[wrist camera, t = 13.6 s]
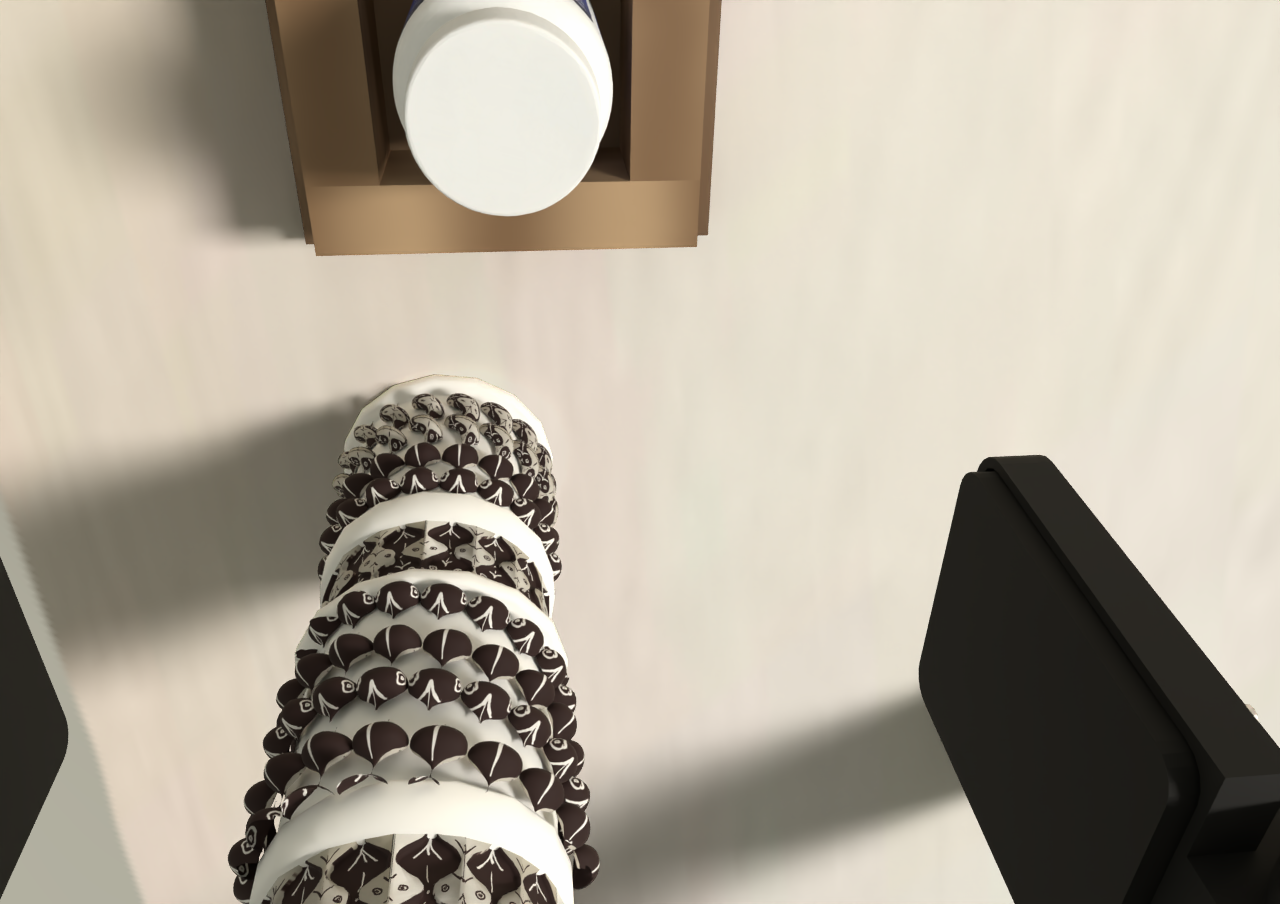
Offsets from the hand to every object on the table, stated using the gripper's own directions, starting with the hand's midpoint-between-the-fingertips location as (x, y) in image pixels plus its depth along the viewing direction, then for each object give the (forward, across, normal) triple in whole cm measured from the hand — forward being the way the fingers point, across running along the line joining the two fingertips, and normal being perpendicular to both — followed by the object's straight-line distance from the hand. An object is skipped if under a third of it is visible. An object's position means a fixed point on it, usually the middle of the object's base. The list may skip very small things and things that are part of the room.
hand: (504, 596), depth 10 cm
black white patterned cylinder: (+28, +3, +17) cm, 33 cm away
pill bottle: (+27, 0, 0) cm, 27 cm away
